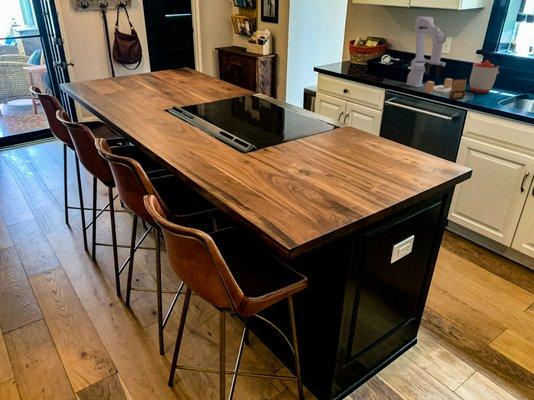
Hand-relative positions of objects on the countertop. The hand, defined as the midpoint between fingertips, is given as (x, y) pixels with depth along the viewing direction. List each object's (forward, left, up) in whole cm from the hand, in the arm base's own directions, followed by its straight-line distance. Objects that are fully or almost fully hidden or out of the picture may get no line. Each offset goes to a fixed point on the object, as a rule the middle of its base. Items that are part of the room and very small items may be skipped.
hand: (432, 76), depth 269 cm
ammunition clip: (+19, +2, -11) cm, 22 cm away
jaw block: (0, 0, -11) cm, 11 cm away
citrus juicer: (+14, +36, -11) cm, 40 cm away
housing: (0, +14, -11) cm, 17 cm away
